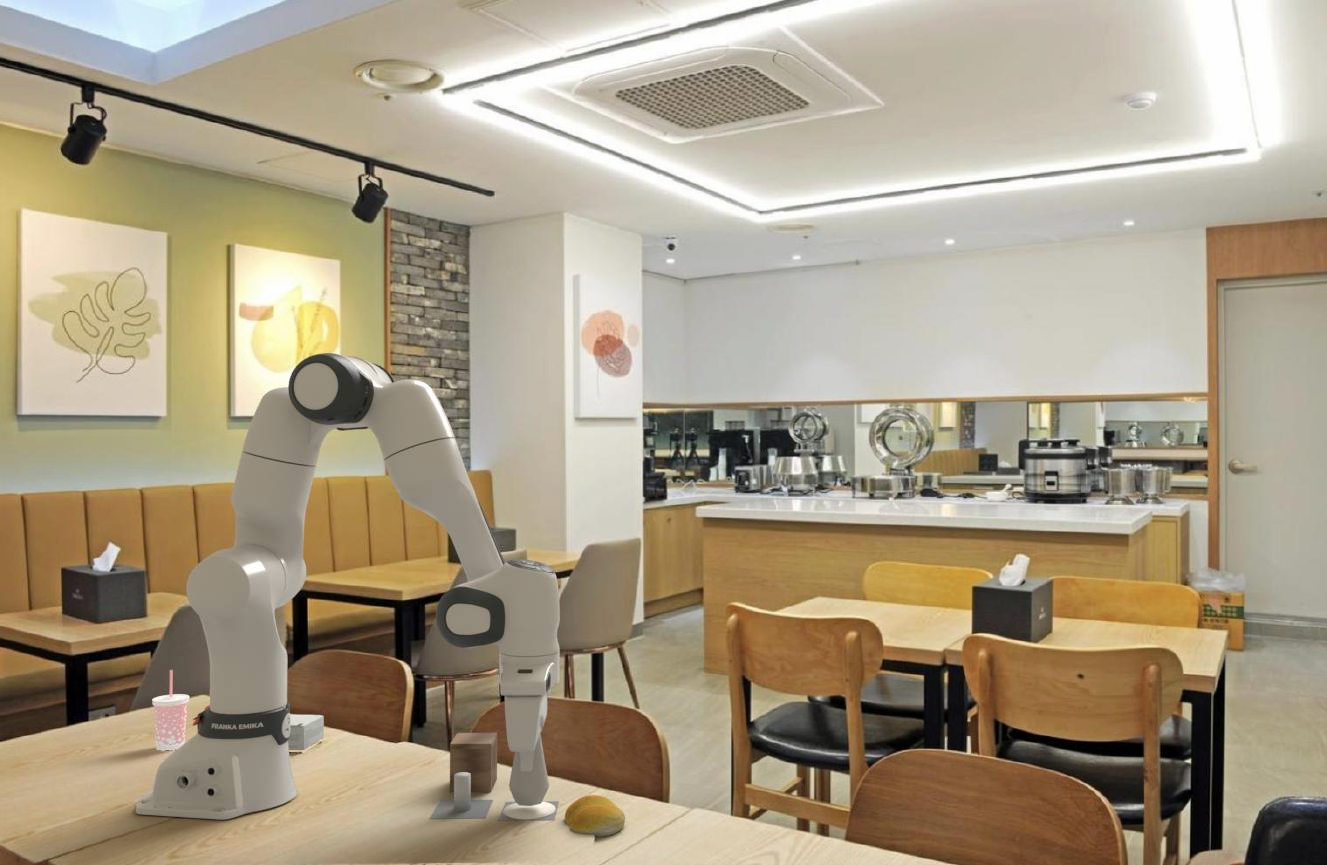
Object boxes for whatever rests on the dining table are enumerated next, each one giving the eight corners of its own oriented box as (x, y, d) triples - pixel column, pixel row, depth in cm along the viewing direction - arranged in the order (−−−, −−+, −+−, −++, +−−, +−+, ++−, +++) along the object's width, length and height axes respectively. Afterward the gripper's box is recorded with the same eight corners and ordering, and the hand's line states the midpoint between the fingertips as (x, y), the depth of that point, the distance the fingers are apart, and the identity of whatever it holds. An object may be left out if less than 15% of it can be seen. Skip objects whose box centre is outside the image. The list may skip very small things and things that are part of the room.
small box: (285, 740, 189) (285, 713, 190) (324, 742, 188) (324, 714, 188) (262, 752, 182) (262, 723, 182) (303, 754, 181) (303, 725, 181)
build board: (498, 824, 145) (498, 819, 145) (505, 805, 153) (505, 800, 153) (554, 823, 145) (554, 818, 145) (558, 805, 153) (558, 799, 153)
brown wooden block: (449, 795, 157) (450, 743, 158) (457, 782, 164) (457, 732, 164) (491, 795, 158) (491, 743, 158) (496, 782, 164) (497, 732, 164)
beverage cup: (178, 752, 181) (179, 673, 182) (144, 752, 181) (145, 673, 182) (195, 742, 187) (196, 666, 188) (162, 742, 187) (163, 666, 188)
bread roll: (577, 842, 139) (577, 813, 139) (559, 821, 147) (559, 793, 147) (634, 834, 142) (634, 805, 142) (614, 813, 150) (614, 786, 150)
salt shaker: (541, 809, 146) (541, 718, 146) (503, 806, 147) (503, 716, 147) (553, 796, 151) (554, 708, 152) (517, 793, 153) (517, 706, 153)
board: (429, 822, 146) (429, 783, 146) (440, 803, 154) (440, 766, 154) (485, 822, 146) (485, 782, 146) (493, 803, 154) (493, 766, 154)
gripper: (516, 657, 160) (515, 745, 160) (498, 685, 140) (497, 787, 139) (556, 657, 160) (555, 745, 160) (544, 685, 140) (543, 787, 139)
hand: (528, 765), depth 149 cm, fingers closed on salt shaker, 3 cm apart
